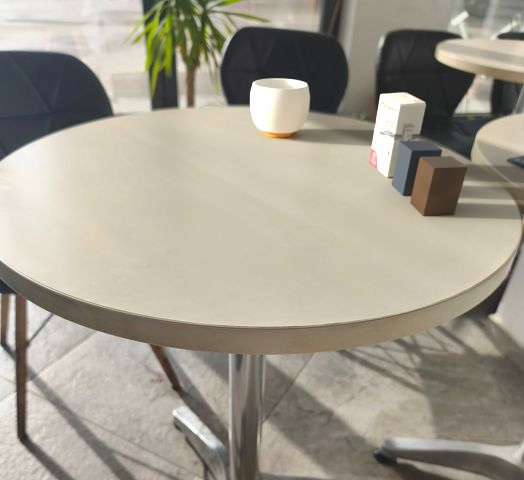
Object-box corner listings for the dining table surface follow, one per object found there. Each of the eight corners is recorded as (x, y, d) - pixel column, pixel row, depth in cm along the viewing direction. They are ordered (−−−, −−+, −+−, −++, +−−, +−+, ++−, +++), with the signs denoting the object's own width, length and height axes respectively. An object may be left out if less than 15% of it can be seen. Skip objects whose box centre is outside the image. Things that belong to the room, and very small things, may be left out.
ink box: (367, 162, 92) (378, 92, 85) (392, 161, 93) (405, 91, 86) (386, 178, 85) (399, 103, 78) (412, 176, 86) (428, 102, 79)
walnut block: (439, 201, 78) (451, 155, 73) (454, 214, 74) (467, 167, 69) (409, 202, 77) (419, 156, 73) (423, 215, 73) (434, 168, 69)
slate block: (419, 183, 84) (429, 140, 79) (431, 194, 80) (442, 149, 76) (391, 184, 83) (399, 141, 79) (402, 195, 79) (411, 150, 75)
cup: (256, 143, 100) (257, 90, 94) (244, 127, 109) (244, 78, 103) (314, 141, 102) (319, 89, 96) (297, 125, 111) (300, 77, 105)
